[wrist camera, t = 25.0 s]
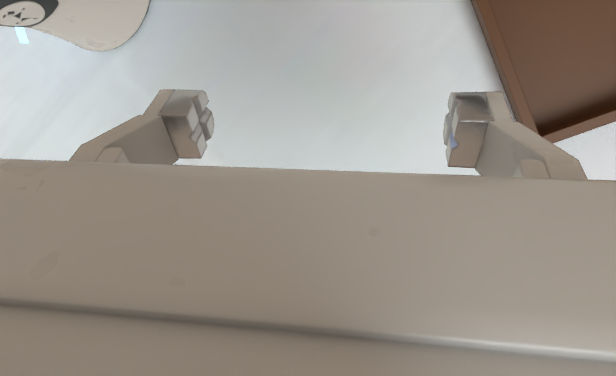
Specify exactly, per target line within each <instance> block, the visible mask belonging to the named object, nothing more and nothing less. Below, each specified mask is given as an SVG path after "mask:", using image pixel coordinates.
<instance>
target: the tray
mask: <svg viewBox="0 0 616 376" xmlns="http://www.w3.org/2000/svg"><path fill="white" fill-rule="evenodd" d="M471 3H472V5H473V8H474V10H475V13H476V16H477V18H478V21H479V24H480V26H481V29H482V31H483V34H484V37H485V39H486V42H487V45H488V47H489V50H490V53H491V55H492V58H493V60H494V63H495V66H496V68H497V71H498V74H499V76H500V79H501V82H502V84H503V87H504V89H505V92H506V95H507V97H508V100H509V103H510V105H511V108H512V110H513V113H514V116H515V118H516V121H517V122H519V123H521V124H522V125H524V126H526V127H527V128H529V129H530V130H532V131H533V132H535V133H537V134H538V135H540V136H541V137H543V138H544V139H546V140H548V141H549V142H551V143H555V142H558V141H561V140H564V139H567V138H569V137H572V136H575V135H578V134H581V133H584V132H586V131H589V130H592V129H595V128H598V127H601V126H603V125H606V124H609V123H612V122H615V121H616V0H471Z"/></svg>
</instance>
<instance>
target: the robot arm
mask: <svg viewBox="0 0 616 376" xmlns="http://www.w3.org/2000/svg"><path fill="white" fill-rule="evenodd" d="M149 1H150V0H0V26H9V27H15V30H16V32H17V35H18V38H19V41H20V43H26V44H27V43H29V42H28V39H27V36H26V33H25V30H24V28H23V27H28V28H31V29H35V30H38V31H41V32H44V33H48V34H51V35H53V36H56V37H59V38H61V39H64V40H66V41H69V42H71V43H73V44H75V45H77V46H79V47H81V48H84V49H87V50H91V51H108V50H111V49H114V48H117V47H119V46H120V45H122V44H124V43H125V42H126V41H127V40H129V39H130V38H131V37H132V36H133V35H134V33H135V32H136V31H137V29H138V28H139V26H140V25H141V23H142V21H143V19H144V17H145V14H146V12H147V9H148V5H149ZM208 102H209V100H208V97H207V94H206V92H205V91H203V90H180V89H177V90H175V89H163V90H160V91H159V92H158V94H157V95H156V97H155V98H154V100H153V101H152V103H151V104H150V105H149V107H148V108H147V110H146V111H145V113H144V114H143V115H138V116H136V117H134V118H132V119H130V120H128V121H126V122H125V123H123V124H121V125H119V126H117V127H115V128H113V129H111V130H109V131H107V132H105V133H103V134H102V135H100V136H98V137H96V138H94V139H92V140H90V141H88V142H86V143H84V144H82V145H81V146H80V147H79V148H78V150H77V151H76V152H75V153H74V155H73V156H72V157H71V158H70V160H69V161H52V160H24V159H0V376H616V181H613V180H588V179H587V177H586V175H585V173H584V171H583V169H582V166H581V164H580V162H579V160H577V159H576V158H574V157H573V156H571V155H570V154H568V153H566V152H565V151H563V150H562V149H560V148H559V147H557V146H555V145H554V144H552V143H551V142H549V141H548V140H546V139H544V138H543V137H541V136H540V135H538V134H537V133H535V132H533V131H532V130H530V129H529V128H527V127H526V126H524V125H522V124H521V123H519V122H513V120H512V117H511V114H510V111H509V109H508V106H507V103H506V100H505V98H504V95H503V93H502V92H501V91H499V92H455V93H450V96H449V101H448V108H449V113H448V114H447V115H446V116H445V122H444V131H443V136H444V144H445V145H446V146H447V149H446V158H447V164H448V167H463V168H475V170H476V171H477V172H478V173H479V174H480V175H481V176H474V175H446V174H417V173H389V172H361V171H332V170H304V169H276V168H248V167H220V166H192V165H172V164H174V163H175V162H176V161H177V160H178V158H202V156H203V154H204V152H205V150H206V148H207V144H206V141H207V140H209V139H210V138H211V137H212V134H213V131H214V118H213V114H212V112H211V111H210V110H209V109H208V108H207V107H206V106H207V104H208Z"/></svg>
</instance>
